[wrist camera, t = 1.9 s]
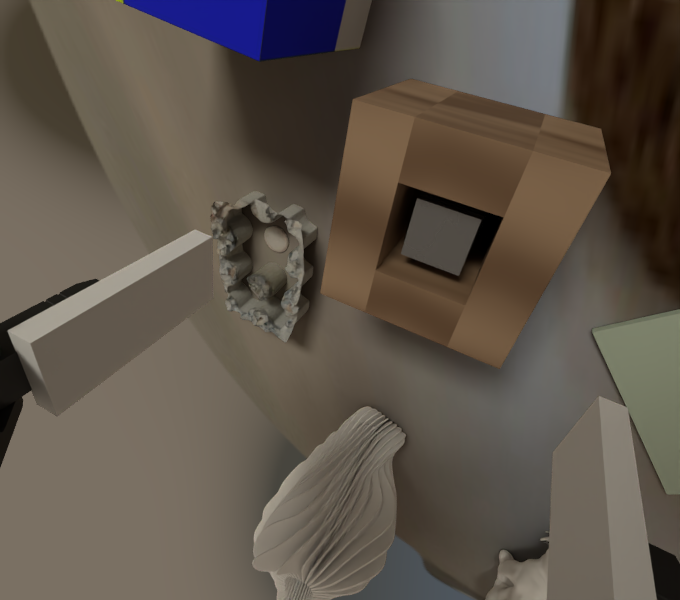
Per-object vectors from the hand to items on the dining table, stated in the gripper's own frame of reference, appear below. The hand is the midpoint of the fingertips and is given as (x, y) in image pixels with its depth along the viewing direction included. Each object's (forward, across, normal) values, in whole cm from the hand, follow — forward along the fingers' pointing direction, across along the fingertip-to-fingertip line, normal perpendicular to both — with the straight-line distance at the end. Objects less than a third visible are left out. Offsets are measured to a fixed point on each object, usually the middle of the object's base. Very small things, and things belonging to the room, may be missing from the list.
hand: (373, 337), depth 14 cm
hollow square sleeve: (+15, 0, 0) cm, 15 cm away
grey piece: (+16, -12, -9) cm, 22 cm away
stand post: (+15, 0, 0) cm, 15 cm away
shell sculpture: (+15, 0, -23) cm, 28 cm away
